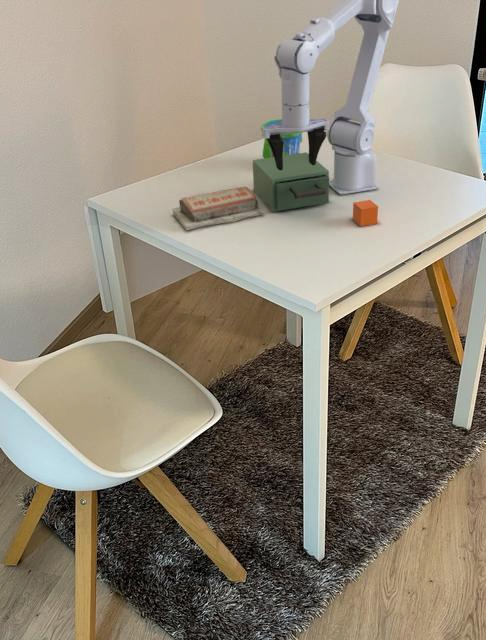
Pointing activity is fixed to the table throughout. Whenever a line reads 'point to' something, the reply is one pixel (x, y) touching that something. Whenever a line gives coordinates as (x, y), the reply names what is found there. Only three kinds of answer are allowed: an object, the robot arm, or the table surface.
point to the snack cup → (289, 141)
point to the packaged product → (217, 208)
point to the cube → (365, 213)
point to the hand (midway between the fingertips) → (296, 166)
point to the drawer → (302, 192)
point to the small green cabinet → (282, 175)
